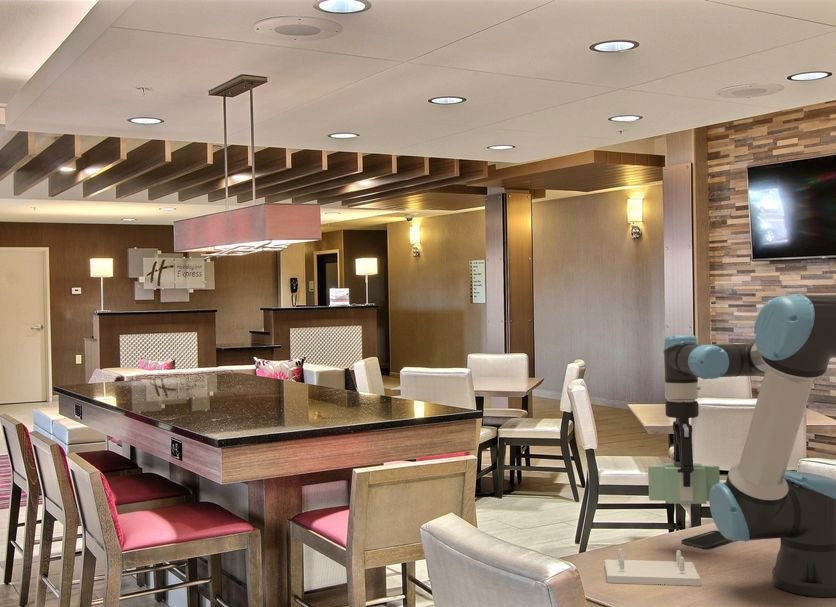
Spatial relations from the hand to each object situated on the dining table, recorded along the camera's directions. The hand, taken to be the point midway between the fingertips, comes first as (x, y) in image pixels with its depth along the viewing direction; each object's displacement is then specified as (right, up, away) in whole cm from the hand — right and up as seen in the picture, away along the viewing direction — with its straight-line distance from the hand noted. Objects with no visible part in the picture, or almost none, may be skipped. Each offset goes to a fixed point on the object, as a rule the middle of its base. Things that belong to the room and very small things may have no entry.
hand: (683, 496), depth 209 cm
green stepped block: (0, -1, 0) cm, 1 cm away
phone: (+10, -14, +9) cm, 19 cm away
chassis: (-12, -13, -17) cm, 25 cm away
